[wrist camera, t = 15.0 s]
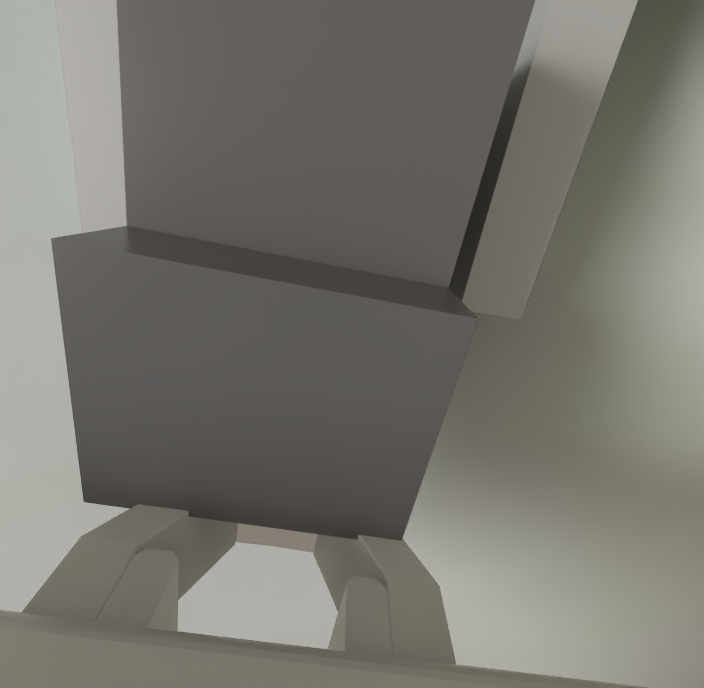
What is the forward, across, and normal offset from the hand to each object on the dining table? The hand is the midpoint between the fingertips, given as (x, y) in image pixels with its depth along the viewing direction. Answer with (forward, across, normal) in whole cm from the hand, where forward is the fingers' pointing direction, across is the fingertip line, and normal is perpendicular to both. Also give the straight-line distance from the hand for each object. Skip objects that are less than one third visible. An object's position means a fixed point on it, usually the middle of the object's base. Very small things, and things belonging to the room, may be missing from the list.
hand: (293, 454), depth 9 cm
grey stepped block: (+4, 0, -5) cm, 6 cm away
